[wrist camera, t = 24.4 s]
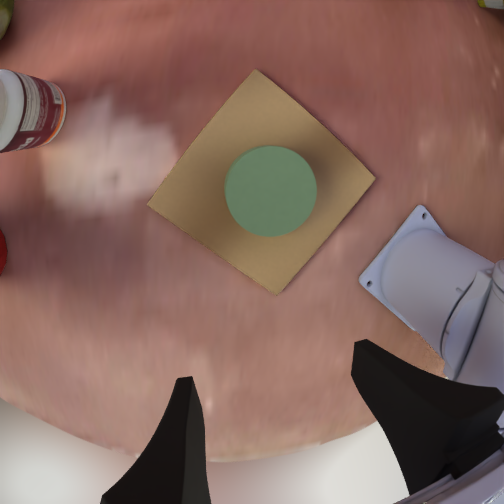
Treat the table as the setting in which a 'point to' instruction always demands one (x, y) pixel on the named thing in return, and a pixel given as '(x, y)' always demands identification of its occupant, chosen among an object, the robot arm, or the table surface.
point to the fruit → (5, 15)
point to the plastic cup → (2, 252)
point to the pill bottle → (28, 111)
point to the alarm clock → (491, 3)
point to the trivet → (223, 155)
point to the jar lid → (270, 190)
